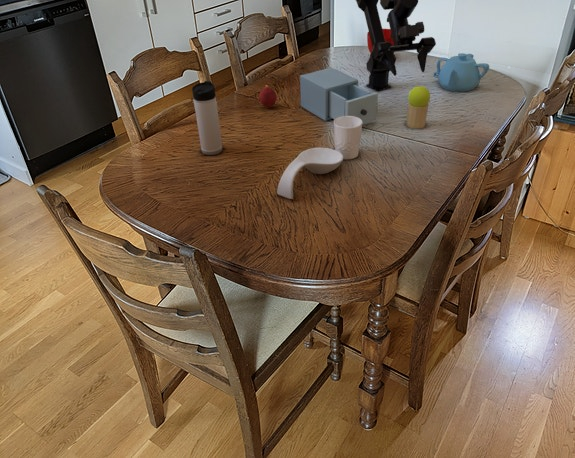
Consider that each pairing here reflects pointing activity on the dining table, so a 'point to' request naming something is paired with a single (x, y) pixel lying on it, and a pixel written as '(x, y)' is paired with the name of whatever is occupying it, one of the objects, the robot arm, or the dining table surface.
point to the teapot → (460, 73)
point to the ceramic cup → (386, 35)
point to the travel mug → (207, 118)
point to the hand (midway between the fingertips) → (409, 73)
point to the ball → (419, 96)
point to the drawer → (352, 103)
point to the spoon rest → (308, 167)
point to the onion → (267, 97)
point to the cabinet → (321, 89)
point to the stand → (416, 116)
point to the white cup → (347, 136)
